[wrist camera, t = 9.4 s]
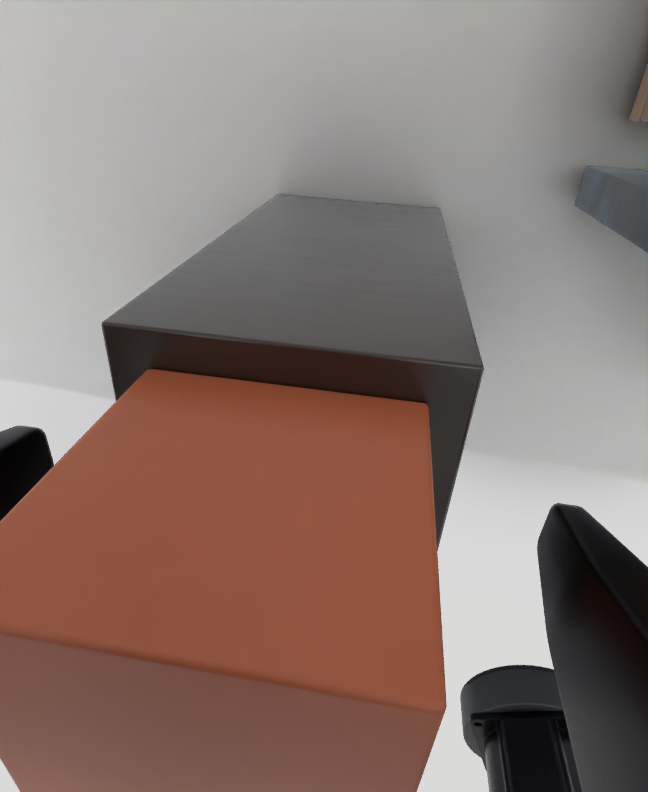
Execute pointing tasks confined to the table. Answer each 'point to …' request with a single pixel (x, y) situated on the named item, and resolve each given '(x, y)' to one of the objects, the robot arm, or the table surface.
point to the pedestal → (319, 314)
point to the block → (226, 597)
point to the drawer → (620, 189)
